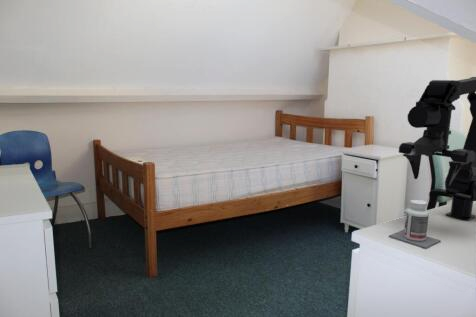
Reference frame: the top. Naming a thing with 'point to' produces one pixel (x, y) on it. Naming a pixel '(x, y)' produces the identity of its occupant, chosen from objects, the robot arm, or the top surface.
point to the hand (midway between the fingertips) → (431, 182)
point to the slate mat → (423, 244)
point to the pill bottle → (416, 221)
